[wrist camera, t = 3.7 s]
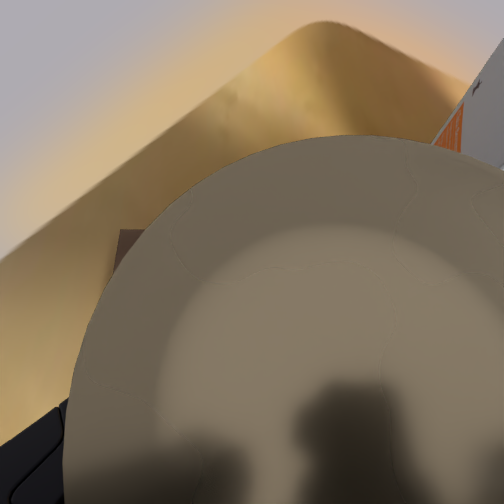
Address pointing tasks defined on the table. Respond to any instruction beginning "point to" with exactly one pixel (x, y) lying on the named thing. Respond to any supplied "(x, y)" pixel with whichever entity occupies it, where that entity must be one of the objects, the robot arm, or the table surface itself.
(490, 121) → the skincare box
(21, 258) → the table surface
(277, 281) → the tea tin
